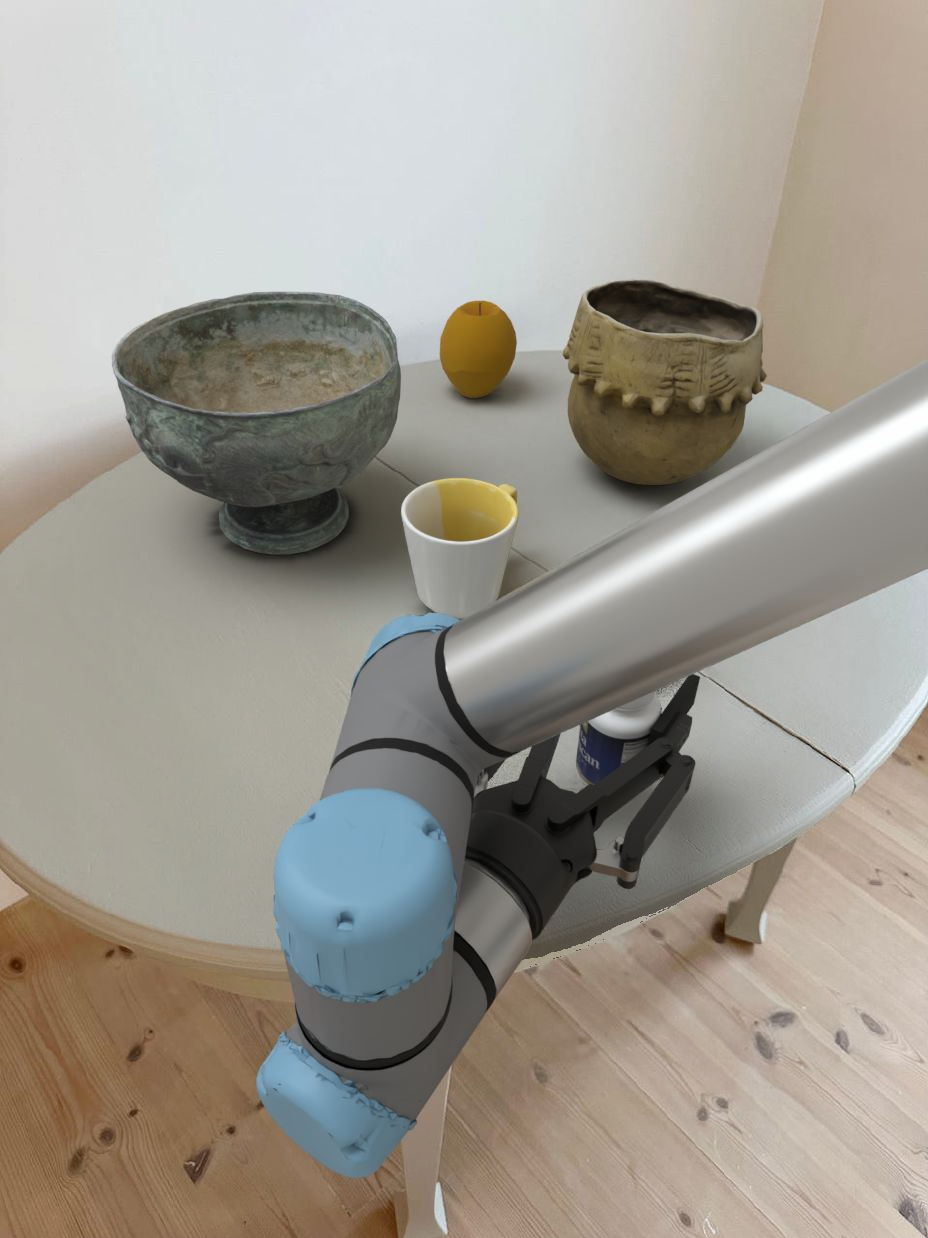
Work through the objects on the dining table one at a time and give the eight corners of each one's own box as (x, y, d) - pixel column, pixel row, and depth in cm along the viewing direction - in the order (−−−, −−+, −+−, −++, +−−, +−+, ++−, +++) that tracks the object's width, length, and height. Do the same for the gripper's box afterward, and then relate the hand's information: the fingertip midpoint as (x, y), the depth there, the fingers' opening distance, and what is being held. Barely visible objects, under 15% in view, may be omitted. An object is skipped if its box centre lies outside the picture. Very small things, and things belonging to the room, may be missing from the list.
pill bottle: (560, 759, 71) (571, 663, 65) (620, 735, 73) (636, 639, 67) (601, 811, 68) (616, 714, 61) (663, 784, 69) (684, 687, 63)
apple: (521, 408, 120) (526, 317, 112) (444, 412, 118) (444, 320, 111) (507, 373, 127) (512, 286, 119) (435, 377, 126) (435, 289, 118)
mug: (455, 652, 85) (456, 557, 78) (381, 598, 90) (377, 505, 83) (559, 588, 92) (568, 496, 85) (485, 542, 98) (488, 452, 91)
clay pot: (625, 408, 120) (648, 247, 107) (775, 472, 109) (820, 301, 96) (514, 468, 108) (525, 296, 96) (669, 547, 97) (704, 364, 84)
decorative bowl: (463, 532, 98) (457, 345, 85) (239, 637, 86) (194, 437, 73) (325, 438, 114) (303, 269, 101) (121, 514, 102) (67, 334, 89)
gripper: (359, 864, 61) (540, 661, 76) (618, 1019, 54) (763, 760, 68) (351, 788, 56) (547, 587, 71) (635, 947, 49) (787, 684, 64)
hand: (652, 672), depth 70 cm, fingers closed on pill bottle, 5 cm apart
